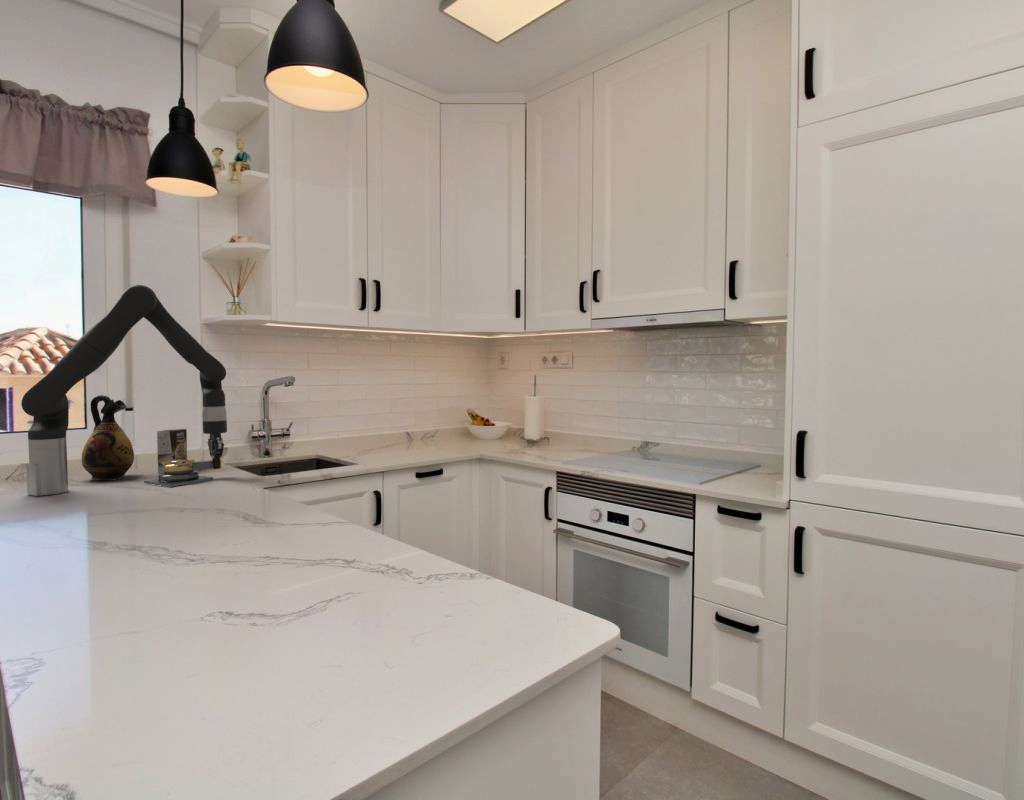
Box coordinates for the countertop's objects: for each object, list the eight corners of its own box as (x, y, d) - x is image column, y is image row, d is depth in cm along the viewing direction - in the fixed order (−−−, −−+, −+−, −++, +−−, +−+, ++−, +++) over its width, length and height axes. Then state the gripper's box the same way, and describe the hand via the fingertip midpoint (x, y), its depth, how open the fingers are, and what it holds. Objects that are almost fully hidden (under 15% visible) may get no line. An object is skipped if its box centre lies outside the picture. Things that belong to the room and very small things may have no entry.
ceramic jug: (145, 475, 208) (142, 394, 207) (111, 483, 193) (108, 395, 192) (103, 474, 210) (100, 394, 209) (66, 482, 195) (63, 396, 194)
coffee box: (174, 473, 212) (172, 430, 211) (157, 473, 212) (155, 431, 211) (188, 469, 221) (187, 428, 220) (172, 469, 221) (171, 428, 220)
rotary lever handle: (163, 475, 188) (163, 463, 187) (162, 471, 195) (161, 460, 195) (222, 470, 198) (222, 459, 197) (218, 467, 205) (218, 456, 205)
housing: (169, 487, 184) (169, 465, 184) (143, 483, 191) (142, 462, 191) (213, 480, 197) (212, 459, 197) (187, 476, 204) (186, 456, 204)
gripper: (231, 419, 194) (233, 469, 195) (221, 418, 204) (223, 465, 205) (207, 420, 189) (209, 472, 190) (198, 419, 200) (200, 468, 200)
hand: (216, 468), depth 197 cm, fingers closed
